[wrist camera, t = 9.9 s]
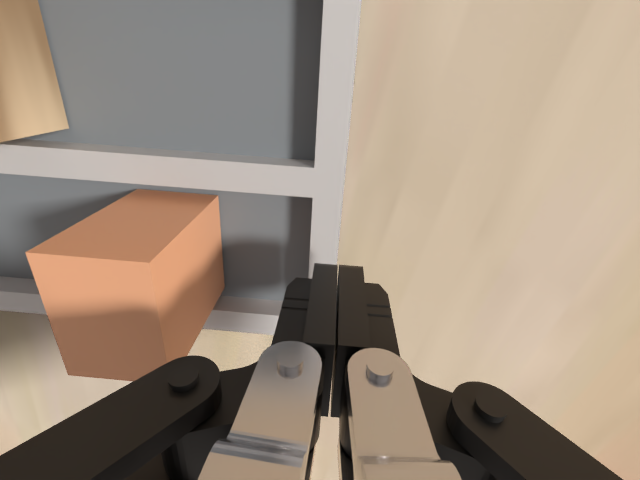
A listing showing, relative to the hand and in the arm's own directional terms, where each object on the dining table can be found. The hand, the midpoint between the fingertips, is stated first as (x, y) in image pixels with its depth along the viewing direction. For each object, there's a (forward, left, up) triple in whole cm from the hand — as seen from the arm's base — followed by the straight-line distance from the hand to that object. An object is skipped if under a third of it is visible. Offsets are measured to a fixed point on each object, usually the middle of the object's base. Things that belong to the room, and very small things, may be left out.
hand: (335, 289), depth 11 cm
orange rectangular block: (0, -6, -3) cm, 7 cm away
